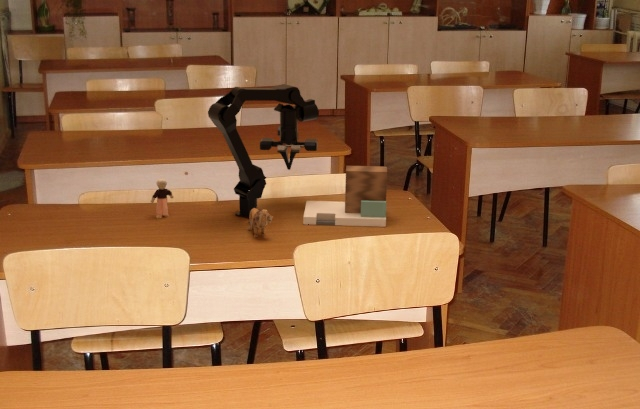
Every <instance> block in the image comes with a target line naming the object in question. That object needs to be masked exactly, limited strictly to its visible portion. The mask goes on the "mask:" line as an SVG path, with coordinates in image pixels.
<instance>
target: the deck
mask: <svg viewBox="0 0 640 409" xmlns="http://www.w3.org/2000/svg"><path fill="white" fill-rule="evenodd" d="M387 203H388V202H387V200H386V201H363V200H361V213H345V201H336V200H335V201H330V200H329V201H328V200H306V203H305V207H304V208H305V209H304V212H303V219H302V220H303V225H308V224H309V225H314V226H315V225H316V226H345V227H346V226H349V227H352V226H353V227H382V228H383V227H387ZM309 225H308V226H309Z"/></svg>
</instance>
